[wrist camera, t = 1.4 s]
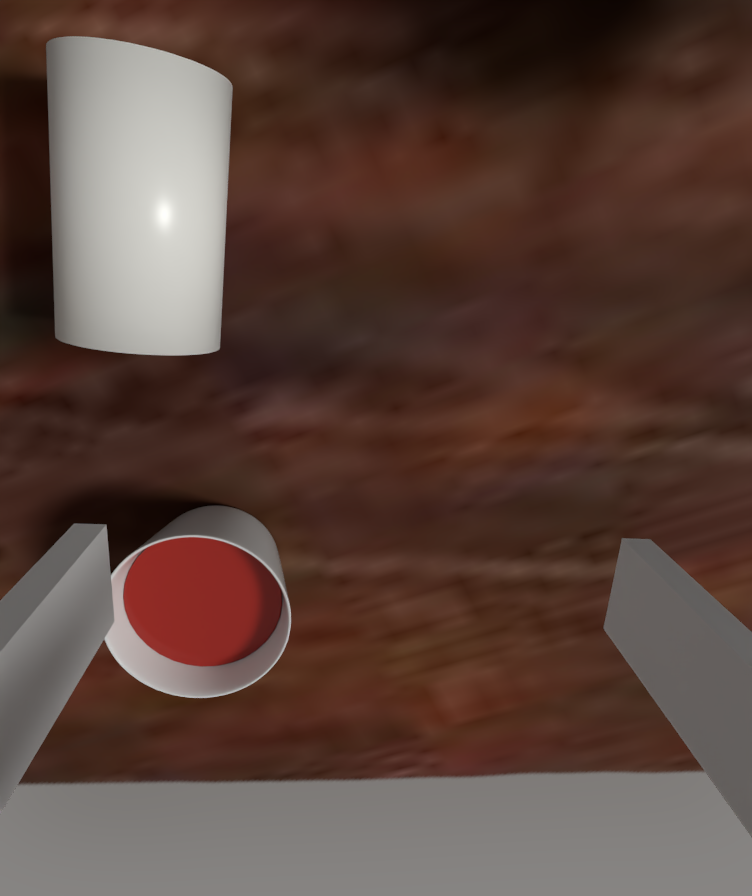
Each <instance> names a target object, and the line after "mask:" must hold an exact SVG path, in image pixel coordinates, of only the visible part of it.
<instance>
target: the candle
mask: <svg viewBox="0 0 752 896" xmlns="http://www.w3.org/2000/svg"><path fill="white" fill-rule="evenodd" d="M111 584H112V596H113V608H114V620H115V621H114V623H113V625H112V626H111V628H110V630H109V632H108V633H107V635H106V637H105V638H104V640H105V642H106V644H107V646H108V648H109V650H110V652H111V653H112V655H113V656H114V658H115V659H116V660H117V661H118V663H119V664H120V665H121V666H122V667H123V668H124V669H125V670H126V671H127V672H128V673H129V674H131V675H132V676H133V677H135V678H136V679H137V680H139V681H141V682H142V683H144V684H146V685H147V686H150V687H152V688H154V689H156V690H159V691H161V692H164V693H168V694H171V695H176V696H181V697H189V698H208V697H216V696H222V695H226V694H230V693H233V692H236V691H238V690H241V689H243V688H245V687H247V686H249V685H251V684H252V683H254V682H256V681H257V680H259V679H260V678H261V677H262V676H264V675H265V674H266V673H267V672H268V671H269V670H270V669H271V668H272V667H273V666H274V665H275V663H276V662H277V661H278V659H279V658H280V656H281V654H282V653H283V651H284V649H285V646H286V644H287V641H288V638H289V633H290V627H291V610H290V604H289V599H288V594H287V589H286V584H285V580H284V575H283V570H282V566H281V561H280V557H279V553H278V550H277V547H276V544H275V542H274V539H273V538H272V536H271V534H270V533H269V531H268V530H267V529H266V527H265V526H264V525H263V524H262V523H261V522H259V521H258V520H257V519H256V518H254V517H253V516H251V515H250V514H248V513H246V512H244V511H242V510H239V509H236V508H232V507H228V506H218V505H213V506H204V507H199V508H195V509H193V510H190V511H188V512H186V513H184V514H182V515H180V516H179V517H177V518H176V519H174V520H173V521H171V522H170V523H169V524H167V525H166V526H165V527H164V528H162V529H161V530H160V531H159V532H157V533H156V534H155V535H153V536H152V537H151V538H150V539H148V540H147V541H146V542H145V543H143V544H142V545H141V546H140V547H138V548H137V549H136V550H135V551H133V552H132V553H131V554H130V555H128V556H127V557H126V558H125V559H124V560H123V561H122V562H121V563H120V564H119V565H118V566H117V567H116V569H115V570H114V571H113V573H112V574H111Z"/></svg>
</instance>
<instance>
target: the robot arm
mask: <svg viewBox="0 0 752 896" xmlns="http://www.w3.org/2000/svg"><path fill="white" fill-rule="evenodd" d="M114 621H115V620H114V608H113V596H112V584H111V572H110V560H109V548H108V536H107V524H73V525H72V526H71V527H70V528H69V529H68V530H67V531H66V533H65V534H64V535H63V536H62V537H61V538H60V539H59V540H58V541H57V542H56V543H55V544H54V545H53V546H52V547H51V548H50V549H49V550H48V551H47V552H46V553H45V555H44V556H43V557H42V558H41V559H40V560H39V561H38V562H37V563H36V564H35V565H34V566H33V567H32V568H31V569H30V570H29V571H28V572H27V573H26V574H25V575H24V576H23V578H22V579H21V580H20V581H19V582H18V583H17V584H16V585H15V586H14V587H13V588H12V589H11V590H10V591H9V592H8V593H7V594H6V595H5V596H4V597H3V598H2V600H1V601H0V813H1V812H2V810H3V808H4V807H5V805H6V803H7V801H8V800H9V798H10V796H11V795H12V793H13V791H14V790H15V788H16V786H17V785H18V783H19V781H20V780H21V778H22V776H23V775H24V773H25V771H26V770H27V768H28V766H29V764H30V763H31V761H32V759H33V758H34V756H35V754H36V753H37V751H38V749H39V748H40V746H41V744H42V743H43V741H44V739H45V738H46V736H47V734H48V732H49V731H50V729H51V727H52V726H53V724H54V722H55V721H56V719H57V717H58V716H59V714H60V712H61V711H62V709H63V707H64V706H65V704H66V702H67V701H68V699H69V697H70V695H71V694H72V692H73V690H74V689H75V687H76V685H77V684H78V682H79V680H80V679H81V677H82V675H83V674H84V672H85V670H86V669H87V667H88V665H89V663H90V662H91V660H92V658H93V657H94V655H95V653H96V652H97V650H98V648H99V647H100V645H101V643H102V642H103V640H104V638H105V637H106V635H107V633H108V632H109V630H110V628H111V626H112V625H113V623H114ZM603 629H604V630H605V631H606V633H607V634H608V636H609V637H610V638H611V640H612V641H613V643H614V644H615V645H616V647H617V648H618V650H619V651H620V652H621V654H622V655H623V657H624V658H625V659H626V661H627V662H628V664H629V665H630V667H631V668H632V669H633V671H634V672H635V674H636V675H637V676H638V678H639V679H640V681H641V682H642V683H643V685H644V686H645V688H646V689H647V690H648V692H649V693H650V695H651V696H652V697H653V699H654V700H655V702H656V703H657V705H658V706H659V707H660V709H661V710H662V712H663V713H664V714H665V716H666V717H667V719H668V720H669V721H670V723H671V724H672V726H673V727H674V728H675V730H676V731H677V733H678V734H679V735H680V737H681V738H682V740H683V741H684V743H685V744H686V745H687V747H688V748H689V750H690V751H691V752H692V754H693V755H694V757H695V758H696V759H697V761H698V762H699V764H700V765H701V766H702V768H703V769H704V771H705V772H706V773H707V775H708V776H709V778H710V779H711V781H712V782H713V783H714V785H715V786H716V788H717V789H718V790H719V792H720V793H721V794H722V796H723V797H724V799H725V800H726V802H727V803H728V804H729V806H730V807H731V809H732V810H733V811H734V813H735V814H736V816H737V817H738V818H739V820H740V821H741V823H742V824H743V826H744V827H745V828H746V830H747V831H748V833H749V834H750V835H751V837H752V632H751V631H750V630H749V629H747V628H746V627H745V626H744V625H743V624H742V623H741V622H740V621H739V620H738V619H737V618H735V617H734V616H733V615H732V614H731V613H730V612H729V611H728V610H727V609H726V608H725V607H723V606H722V605H721V604H720V603H719V602H718V601H717V600H716V599H715V598H714V597H713V596H711V595H710V594H709V593H708V592H707V591H706V590H705V589H704V588H703V587H702V586H701V585H699V584H698V583H697V582H696V581H695V580H694V579H693V578H692V577H691V576H690V575H689V574H687V573H686V572H685V571H684V570H683V569H682V568H681V567H680V566H679V565H678V564H677V563H675V562H674V561H673V560H672V559H671V558H670V557H669V556H668V555H667V554H666V553H665V552H663V551H662V550H661V549H660V548H659V547H658V546H657V545H656V544H655V543H654V542H653V541H651V540H650V539H622V542H621V547H620V551H619V556H618V561H617V566H616V571H615V576H614V580H613V585H612V590H611V595H610V600H609V604H608V609H607V614H606V619H605V624H604V628H603Z"/></svg>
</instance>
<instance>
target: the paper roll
mask: <svg viewBox="0 0 752 896" xmlns="http://www.w3.org/2000/svg"><path fill="white" fill-rule="evenodd" d="M46 58H47V90H48V122H49V155H50V187H51V219H52V251H53V284H54V316H55V337H56V338H57V339H58V340H60V341H62V342H64V343H67V344H71V345H75V346H79V347H84V348H89V349H96V350H102V351H110V352H119V353H130V354H145V355H196V354H205V353H211V352H215V351H217V350H219V349H220V337H221V316H222V295H223V274H224V254H225V233H226V212H227V192H228V171H229V150H230V130H231V109H232V88H233V86H232V84H231V82H230V81H229V80H228V79H227V78H226V77H224V76H223V75H221V74H220V73H218V72H216V71H214V70H212V69H211V68H208V67H206V66H204V65H202V64H199V63H197V62H194V61H192V60H189V59H186V58H184V57H181V56H178V55H175V54H171V53H168V52H165V51H161V50H158V49H154V48H150V47H146V46H142V45H137V44H132V43H127V42H122V41H116V40H110V39H103V38H93V37H78V36H74V37H59V38H55V39H52V40H50V41H48V42H47V44H46Z"/></svg>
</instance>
